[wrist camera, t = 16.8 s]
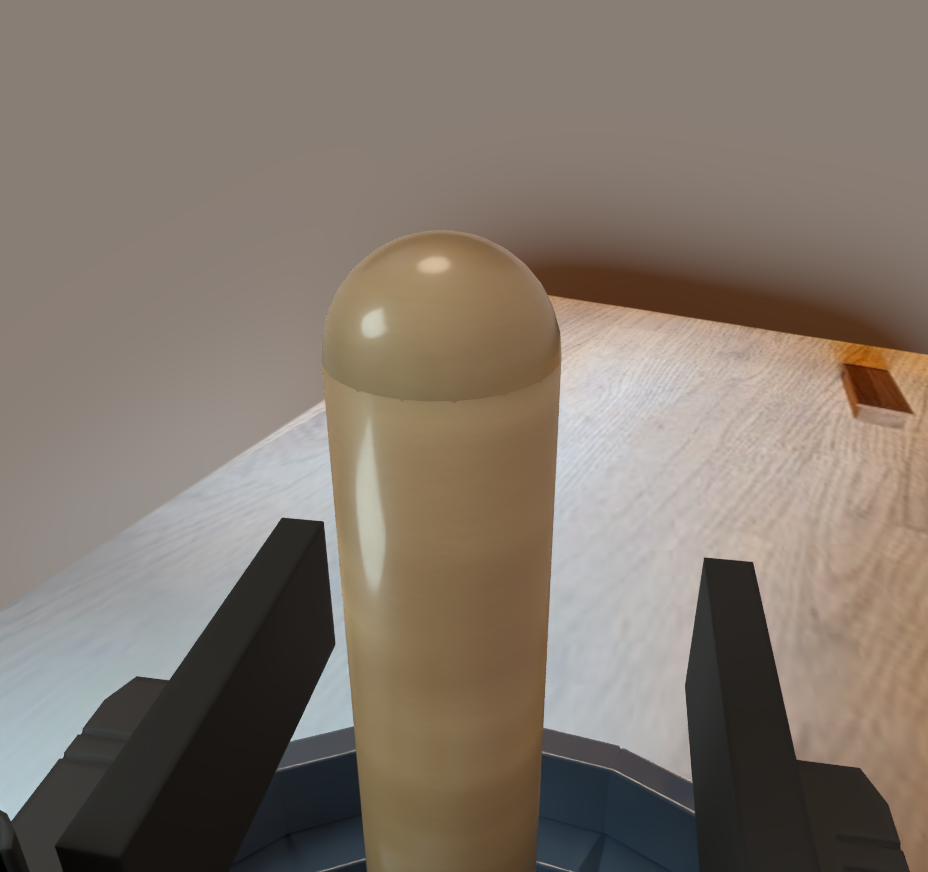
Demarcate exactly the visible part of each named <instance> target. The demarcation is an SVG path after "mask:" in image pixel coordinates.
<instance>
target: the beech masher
mask: <svg viewBox="0 0 928 872" xmlns="http://www.w3.org/2000/svg"><path fill="white" fill-rule="evenodd" d="M322 370H323V381H324V392H325V404H326V415H327V427H328V438H329V449H330V460H331V472H332V483H333V494H334V506H335V517H336V528H337V539H338V551H339V562H340V573H341V585H342V596H343V607H344V618H345V630H346V641H347V652H348V664H349V675H350V686H351V697H352V709H353V720H354V731H355V743H356V754H357V765H358V776H359V788H360V799H361V810H362V822H363V833H364V844H365V855H366V867H367V872H536V861H537V841H538V820H539V800H540V780H541V760H542V739H543V719H544V699H545V679H546V659H547V638H548V618H549V598H550V578H551V557H552V537H553V517H554V497H555V476H556V456H557V436H558V416H559V395H560V375H561V338H560V330H559V327H558V323H557V319H556V315H555V312H554V309H553V306H552V303H551V302H550V300H549V298H548V296H547V294H546V292H545V290H544V288H543V286H542V284H541V283H540V282H539V280H537V278H536V277H535V276H534V274H533V273H532V272H531V271H530V269H529V268H528V267H527V266H526V265H525V264H524V263H523V262H522V261H520V260H519V259H518V258H517V257H515V256H514V255H513V254H512V253H510V252H509V251H508V250H506V249H505V248H503V247H501V246H499V245H497V244H495V243H493V242H491V241H489V240H487V239H485V238H483V237H480V236H477V235H473V234H468V233H463V232H457V231H451V230H431V231H424V232H419V233H415V234H410V235H406V236H402V237H400V238H397V239H395V240H393V241H391V242H389V243H387V244H386V245H383V246H382V247H380V248H378V249H376V250H374V251H373V252H372V253H371V254H369V255H368V256H367V257H366V258H365V259H364V260H362V261H361V262H360V263H359V264H358V265H357V266H355V267H354V268H353V270H352V271H351V272H350V273H349V275H348V276H347V277H346V279H345V280H344V281H343V283H342V284H341V285H340V287H339V289H338V291H337V293H336V295H335V297H334V299H333V301H332V304H331V306H330V308H329V310H328V313H327V317H326V322H325V326H324V330H323V334H322Z"/></svg>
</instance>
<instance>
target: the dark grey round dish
mask: <svg viewBox="0 0 928 872" xmlns="http://www.w3.org/2000/svg"><path fill="white" fill-rule="evenodd" d="M229 872H367V867H366V855H365V844H364V833H363V822H362V810H361V799H360V788H359V776H358V765H357V754H356V743H355V731H354V727H350V728H345V729H341V730H337V731H333V732H329V733H325V734H320V735H316V736H312V737H308V738H304V739H300V740H295V741H291V742H289V744H288V746H287V749H286V751H285V753H284V755H283V757H282V759H281V761H280V764H279V766H278V768H277V770H276V772H275V774H274V776H273V778H272V781H271V783H270V785H269V787H268V789H267V791H266V793H265V795H264V798H263V800H262V802H261V804H260V806H259V808H258V810H257V812H256V815H255V817H254V819H253V821H252V823H251V825H250V827H249V829H248V832H247V834H246V836H245V838H244V840H243V842H242V844H241V847H240V849H239V851H238V853H237V855H236V857H235V859H234V861H233V864H232V866H231V868H230V870H229ZM536 872H700V871H699V858H698V845H697V833H696V820H695V807H694V794H693V783H692V782H690V781H688V780H686V779H684V778H682V777H680V776H678V775H676V774H674V773H672V772H670V771H668V770H666V769H664V768H662V767H660V766H658V765H656V764H654V763H652V762H650V761H648V760H646V759H644V758H642V757H640V756H638V755H636V754H634V753H632V752H630V751H628V750H626V749H624V748H622V749H621V748H620V746H617V745H613V744H609V743H605V742H601V741H596V740H592V739H588V738H584V737H580V736H576V735H571V734H567V733H563V732H559V731H555V730H550V729H546V728H543V739H542V760H541V780H540V800H539V820H538V841H537V861H536Z"/></svg>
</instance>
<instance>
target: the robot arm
mask: <svg viewBox="0 0 928 872" xmlns="http://www.w3.org/2000/svg"><path fill="white" fill-rule="evenodd" d="M334 646H335V635H334V624H333V614H332V604H331V593H330V583H329V573H328V562H327V552H326V542H325V531H324V522H322V521H312V520H301V519H291V518H282V519H281V520H280V521H279V523H278V524H277V526H276V527H275V529H274V530H273V532H272V533H271V534H270V536H269V537H268V539H267V540H266V542H265V543H264V545H263V546H262V547H261V549H260V550H259V552H258V553H257V555H256V556H255V558H254V559H253V560H252V562H251V563H250V565H249V566H248V568H247V569H246V570H245V572H244V573H243V575H242V576H241V578H240V579H239V581H238V582H237V583H236V585H235V586H234V588H233V589H232V591H231V592H230V594H229V595H228V596H227V598H226V599H225V601H224V602H223V604H222V605H221V607H220V608H219V609H218V611H217V612H216V614H215V615H214V617H213V618H212V620H211V621H210V622H209V624H208V625H207V627H206V628H205V630H204V631H203V633H202V634H201V635H200V637H199V638H198V640H197V641H196V643H195V644H194V645H193V647H192V648H191V650H190V651H189V653H188V654H187V656H186V657H185V658H184V660H183V661H182V663H181V664H180V666H179V667H178V669H177V670H176V671H175V673H174V674H173V676H172V677H171V679H170V680H161V679H153V678H146V677H138V676H137V677H135V678H134V679H133V680H131V681H130V682H128V683H127V684H126V685H124V686H123V687H122V688H120V689H119V690H118V691H116V692H115V693H113V694H112V695H111V696H109V697H108V698H107V699H105V700H104V701H103V703H102V704H101V705H100V707H99V708H98V709H97V711H96V712H95V713H94V714H93V716H92V717H91V718H90V720H89V721H88V722H87V724H86V725H85V726H84V728H83V731H82V734H81V735H79V734H78V735H77V737H76V738H75V739H74V741H73V742H72V743H71V744H70V746H69V747H68V748H67V750H66V751H65V752H64V757H63V759H59V760H58V761H57V763H56V764H55V765H54V767H53V768H52V769H51V770H50V772H49V773H48V774H47V776H46V777H45V778H44V780H43V781H42V782H41V784H40V785H39V786H38V787H37V789H36V790H35V791H34V793H33V794H32V795H31V797H30V798H29V799H28V800H27V802H26V803H25V804H24V806H23V807H22V808H21V810H20V811H19V812H18V813H17V815H16V816H15V817H14V819H13V820H12V821H10V819H9V817H8V815H7V814H6V813H4V812H2V811H1V810H0V872H229V870H230V868H231V866H232V864H233V861H234V859H235V857H236V855H237V853H238V851H239V849H240V847H241V844H242V842H243V840H244V838H245V836H246V834H247V832H248V829H249V827H250V825H251V823H252V821H253V819H254V817H255V815H256V812H257V810H258V808H259V806H260V804H261V802H262V800H263V798H264V795H265V793H266V791H267V789H268V787H269V785H270V783H271V781H272V778H273V776H274V774H275V772H276V770H277V768H278V766H279V764H280V761H281V759H282V757H283V755H284V753H285V751H286V749H287V746H288V744H289V742H290V740H291V738H292V736H293V734H294V732H295V729H296V727H297V725H298V723H299V721H300V719H301V717H302V715H303V712H304V710H305V708H306V706H307V704H308V702H309V700H310V698H311V695H312V693H313V691H314V689H315V687H316V685H317V683H318V681H319V678H320V676H321V674H322V672H323V670H324V668H325V666H326V663H327V661H328V659H329V657H330V655H331V653H332V651H333V649H334ZM685 692H686V705H687V717H688V730H689V743H690V756H691V769H692V781H693V794H694V807H695V820H696V833H697V845H698V858H699V871H700V872H910V871H909V868H908V865H907V862H906V859H905V856H904V853H903V851H901V849H900V840H899V837H898V834H897V831H896V828H895V825H894V822H893V818H892V815H891V812H890V809H889V806H888V804H887V802H886V801H885V800H884V798H883V797H882V796H881V795H880V793H879V792H878V791H877V789H876V788H875V787H874V786H873V784H872V783H871V782H870V781H869V779H868V778H867V777H866V775H865V774H864V773H863V772H862V770H861V769H860V768H854V767H847V766H839V765H831V764H824V763H816V762H808V761H801V760H796V756H795V751H794V747H793V742H792V738H791V733H790V729H789V724H788V719H787V715H786V710H785V706H784V701H783V697H782V692H781V688H780V683H779V678H778V674H777V669H776V665H775V660H774V656H773V651H772V647H771V642H770V637H769V633H768V628H767V624H766V619H765V615H764V610H763V605H762V601H761V596H760V592H759V587H758V583H757V578H756V574H755V569H754V564H753V562H746V561H735V560H724V559H714V558H704V562H703V568H702V575H701V582H700V589H699V595H698V602H697V609H696V616H695V622H694V629H693V636H692V643H691V649H690V656H689V663H688V669H687V676H686V683H685Z"/></svg>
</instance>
